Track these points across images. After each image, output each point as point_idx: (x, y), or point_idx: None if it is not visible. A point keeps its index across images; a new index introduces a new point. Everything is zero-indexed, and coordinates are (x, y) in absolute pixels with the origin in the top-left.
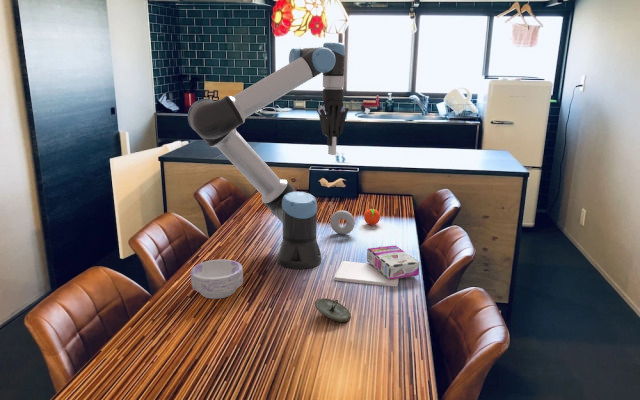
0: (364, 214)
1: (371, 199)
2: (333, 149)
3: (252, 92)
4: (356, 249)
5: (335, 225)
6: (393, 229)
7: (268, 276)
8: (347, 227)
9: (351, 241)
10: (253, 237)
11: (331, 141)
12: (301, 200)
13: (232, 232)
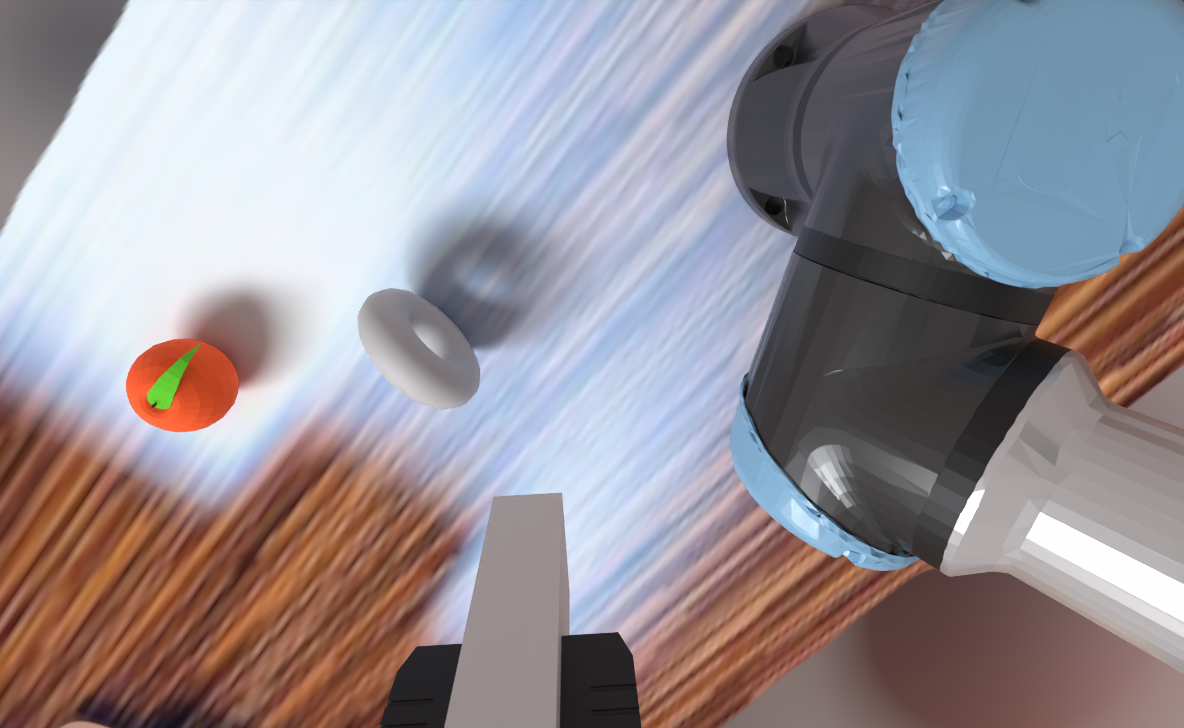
0: (220, 412)
1: (10, 672)
2: (545, 553)
3: None
4: (497, 100)
5: (465, 354)
6: (132, 244)
7: None
8: (417, 304)
9: (452, 215)
10: None
11: (572, 718)
12: (1122, 52)
13: (842, 579)
